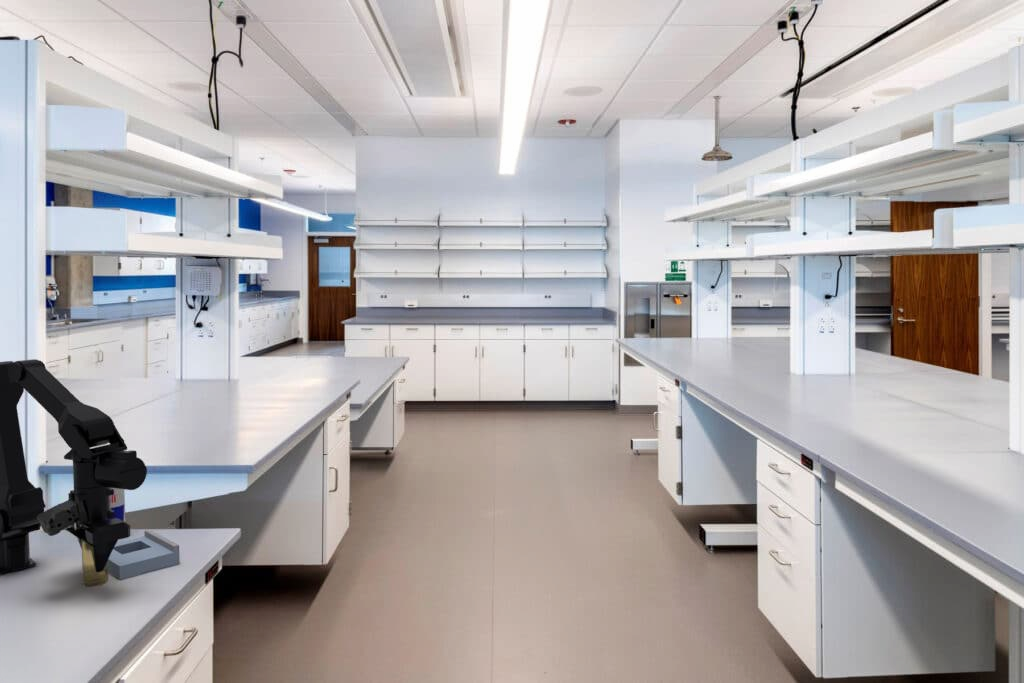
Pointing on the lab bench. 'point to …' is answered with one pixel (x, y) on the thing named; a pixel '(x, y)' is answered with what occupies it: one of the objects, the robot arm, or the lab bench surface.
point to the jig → (142, 555)
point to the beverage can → (118, 504)
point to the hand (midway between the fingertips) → (95, 568)
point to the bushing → (91, 568)
